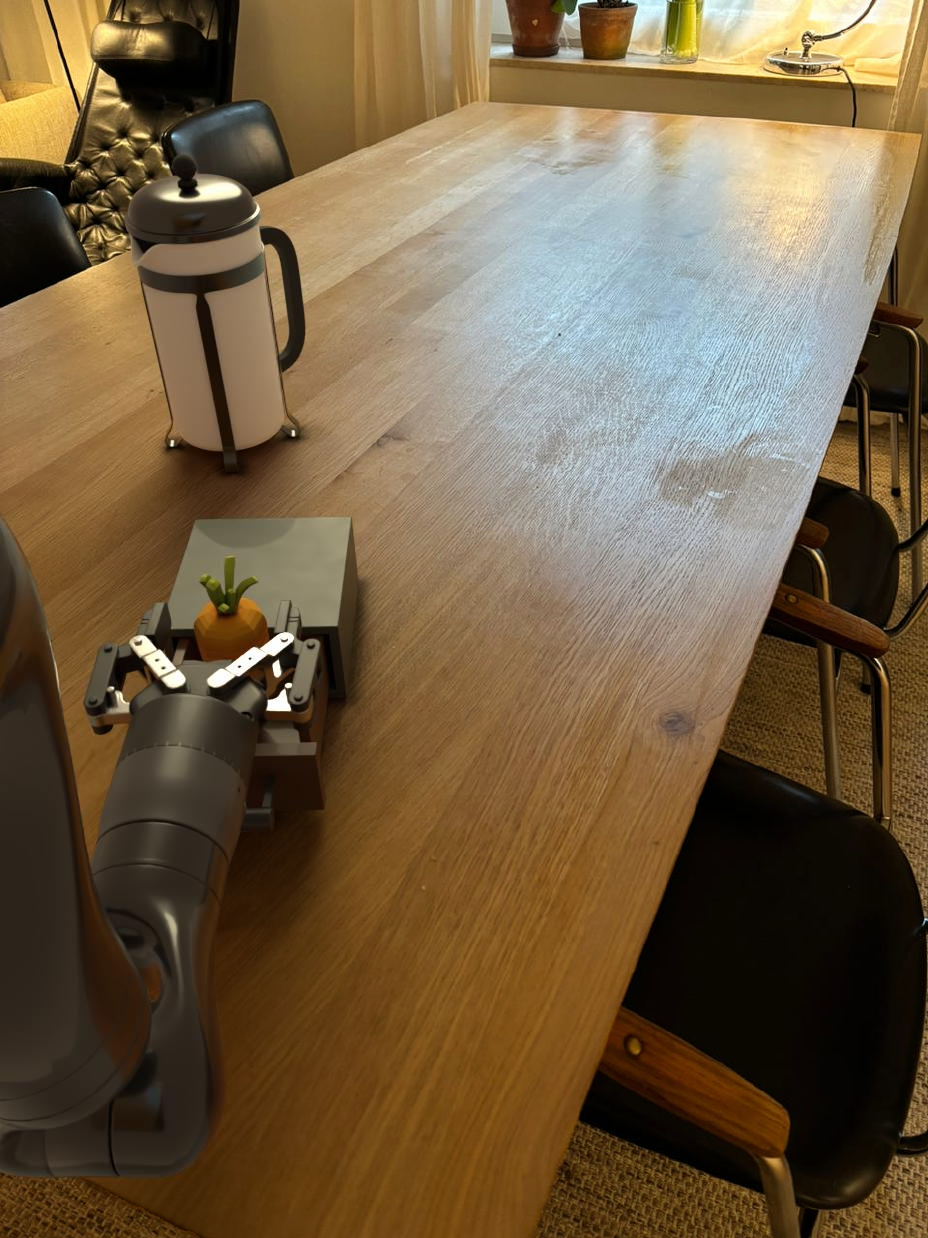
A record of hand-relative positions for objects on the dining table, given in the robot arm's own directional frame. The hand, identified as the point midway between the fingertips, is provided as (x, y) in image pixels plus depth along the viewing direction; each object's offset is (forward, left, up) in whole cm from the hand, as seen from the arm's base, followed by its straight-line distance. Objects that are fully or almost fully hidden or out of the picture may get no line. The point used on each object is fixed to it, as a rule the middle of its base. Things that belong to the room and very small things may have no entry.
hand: (225, 610), depth 69 cm
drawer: (-1, -3, -12) cm, 12 cm away
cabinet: (+4, +11, -13) cm, 17 cm away
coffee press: (+9, +46, -13) cm, 49 cm away
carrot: (0, -1, -11) cm, 11 cm away
